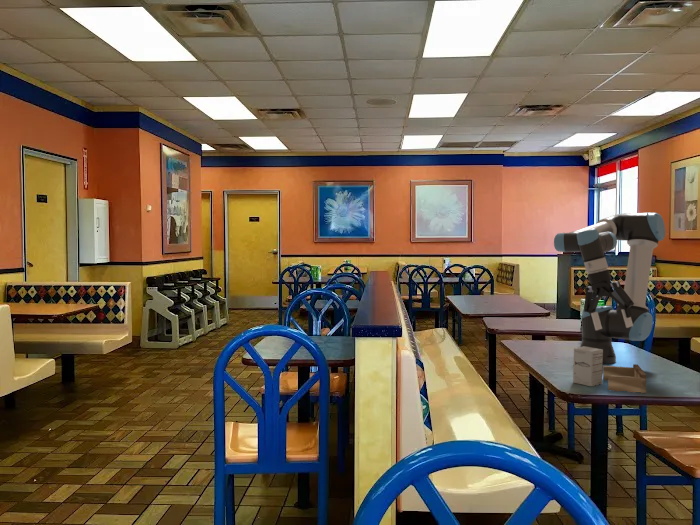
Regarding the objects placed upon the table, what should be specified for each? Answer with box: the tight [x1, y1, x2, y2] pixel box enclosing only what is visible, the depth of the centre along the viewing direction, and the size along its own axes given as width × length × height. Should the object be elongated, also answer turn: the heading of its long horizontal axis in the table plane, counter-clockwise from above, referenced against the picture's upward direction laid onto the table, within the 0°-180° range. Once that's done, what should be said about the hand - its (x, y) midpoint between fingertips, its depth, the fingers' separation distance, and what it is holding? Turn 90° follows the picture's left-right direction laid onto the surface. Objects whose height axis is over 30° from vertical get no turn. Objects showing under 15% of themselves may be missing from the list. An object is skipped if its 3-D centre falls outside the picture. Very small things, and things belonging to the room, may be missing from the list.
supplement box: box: [572, 346, 603, 387], centre depth 207 cm, size 7×7×13 cm
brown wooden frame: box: [602, 363, 647, 394], centre depth 203 cm, size 17×12×6 cm
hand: (613, 328), depth 209 cm, fingers open, 13 cm apart
